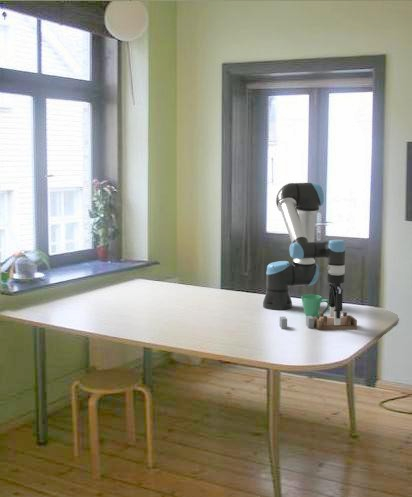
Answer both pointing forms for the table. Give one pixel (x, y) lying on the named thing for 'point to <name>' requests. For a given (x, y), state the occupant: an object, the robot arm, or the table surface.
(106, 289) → the table surface
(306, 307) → the mug
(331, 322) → the clay strip
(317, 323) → the rack
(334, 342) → the table surface
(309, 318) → the grey blocks
